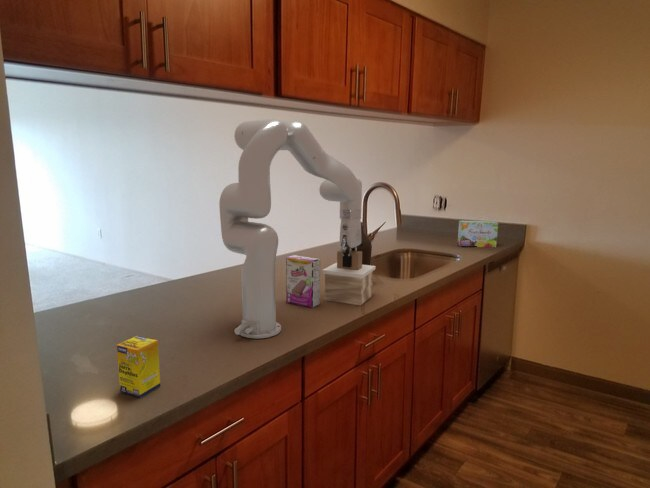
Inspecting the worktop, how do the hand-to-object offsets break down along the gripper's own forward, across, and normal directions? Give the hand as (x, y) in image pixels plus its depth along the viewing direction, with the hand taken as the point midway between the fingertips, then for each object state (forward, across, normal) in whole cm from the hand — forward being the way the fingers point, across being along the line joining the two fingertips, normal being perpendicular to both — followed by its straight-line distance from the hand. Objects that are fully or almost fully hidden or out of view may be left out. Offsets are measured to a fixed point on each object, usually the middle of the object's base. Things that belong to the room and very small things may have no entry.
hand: (349, 264), depth 162 cm
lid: (+2, 0, 0) cm, 2 cm away
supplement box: (+13, -81, +17) cm, 84 cm away
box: (+12, 0, 0) cm, 12 cm away
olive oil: (+12, +20, +4) cm, 24 cm away
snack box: (+13, +125, -31) cm, 129 cm away
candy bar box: (+13, -13, +12) cm, 22 cm away
